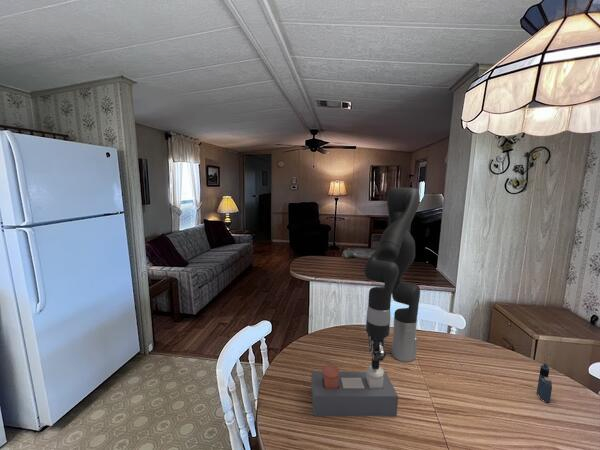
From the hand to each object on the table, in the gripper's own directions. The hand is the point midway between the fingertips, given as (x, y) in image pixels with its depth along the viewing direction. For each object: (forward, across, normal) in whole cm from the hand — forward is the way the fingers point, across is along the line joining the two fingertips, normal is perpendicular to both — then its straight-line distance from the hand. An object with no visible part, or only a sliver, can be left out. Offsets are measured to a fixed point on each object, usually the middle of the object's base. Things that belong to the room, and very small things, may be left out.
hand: (375, 367), depth 94 cm
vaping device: (+13, +2, -62) cm, 63 cm away
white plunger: (+8, 0, 0) cm, 8 cm away
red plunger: (+8, 0, +15) cm, 17 cm away
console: (+13, 0, +7) cm, 15 cm away
